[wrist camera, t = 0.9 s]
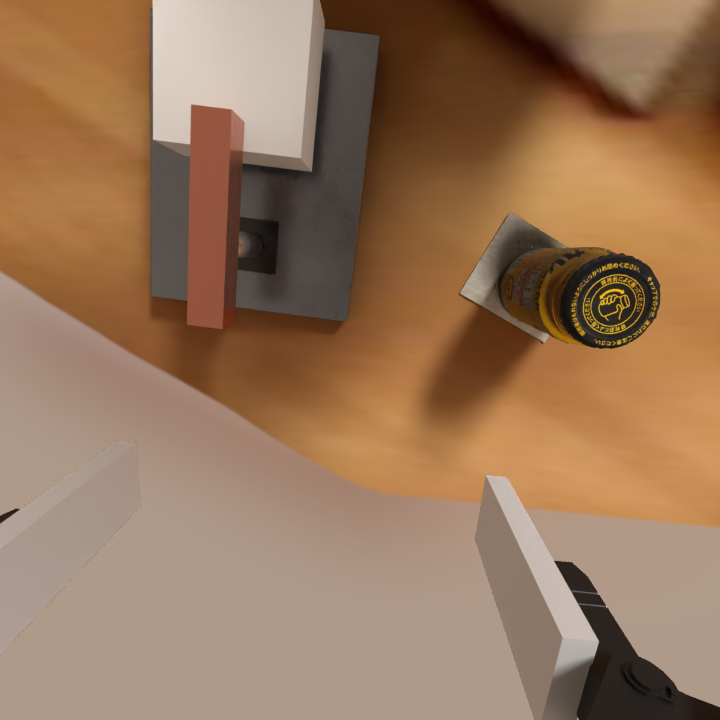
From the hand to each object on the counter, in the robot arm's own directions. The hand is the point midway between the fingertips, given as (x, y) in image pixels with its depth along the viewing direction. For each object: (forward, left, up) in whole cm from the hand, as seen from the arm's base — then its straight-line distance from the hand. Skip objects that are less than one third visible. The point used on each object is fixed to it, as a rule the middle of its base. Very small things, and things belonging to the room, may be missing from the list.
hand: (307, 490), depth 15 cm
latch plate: (-13, -8, -21) cm, 27 cm away
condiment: (-8, +14, -22) cm, 27 cm away
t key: (-8, -8, -19) cm, 23 cm away
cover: (-18, -8, -17) cm, 27 cm away
